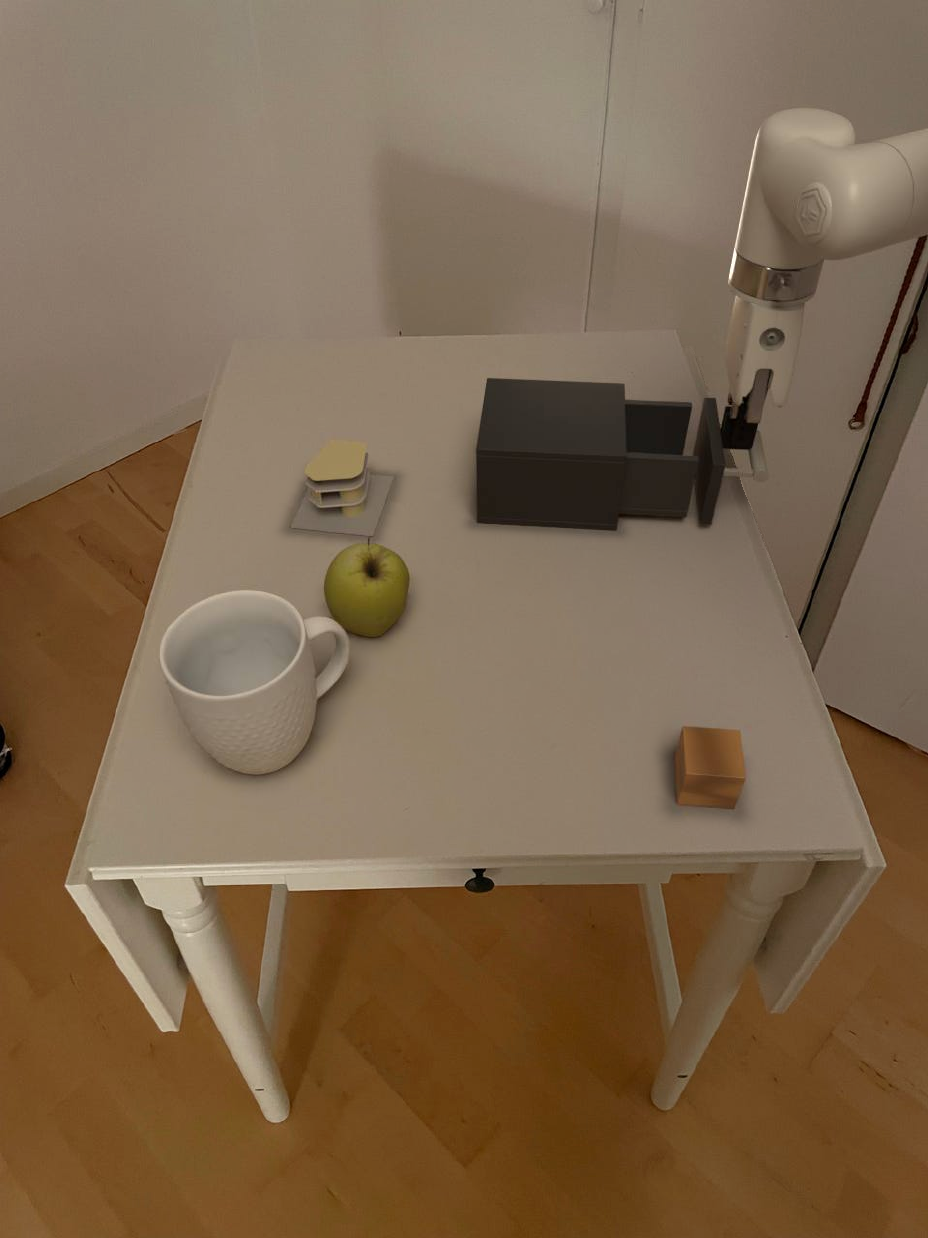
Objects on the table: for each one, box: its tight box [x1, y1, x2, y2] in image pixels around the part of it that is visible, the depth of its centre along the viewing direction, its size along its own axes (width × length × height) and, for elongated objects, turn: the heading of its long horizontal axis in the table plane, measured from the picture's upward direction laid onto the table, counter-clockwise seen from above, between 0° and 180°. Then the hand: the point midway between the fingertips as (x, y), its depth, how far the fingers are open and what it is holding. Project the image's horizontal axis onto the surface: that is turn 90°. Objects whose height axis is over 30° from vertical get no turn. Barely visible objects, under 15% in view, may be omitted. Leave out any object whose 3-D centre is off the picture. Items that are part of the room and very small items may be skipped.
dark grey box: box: [475, 377, 627, 531], centre depth 96 cm, size 15×13×10 cm
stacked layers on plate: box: [290, 439, 395, 537], centre depth 97 cm, size 10×9×6 cm
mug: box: [158, 589, 351, 775], centre depth 74 cm, size 15×11×13 cm
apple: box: [323, 537, 411, 638], centre depth 84 cm, size 8×8×10 cm
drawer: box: [619, 396, 769, 526], centre depth 95 cm, size 18×11×8 cm, turn 84°
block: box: [673, 725, 747, 810], centre depth 73 cm, size 4×4×4 cm
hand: (735, 444), depth 93 cm, fingers closed
